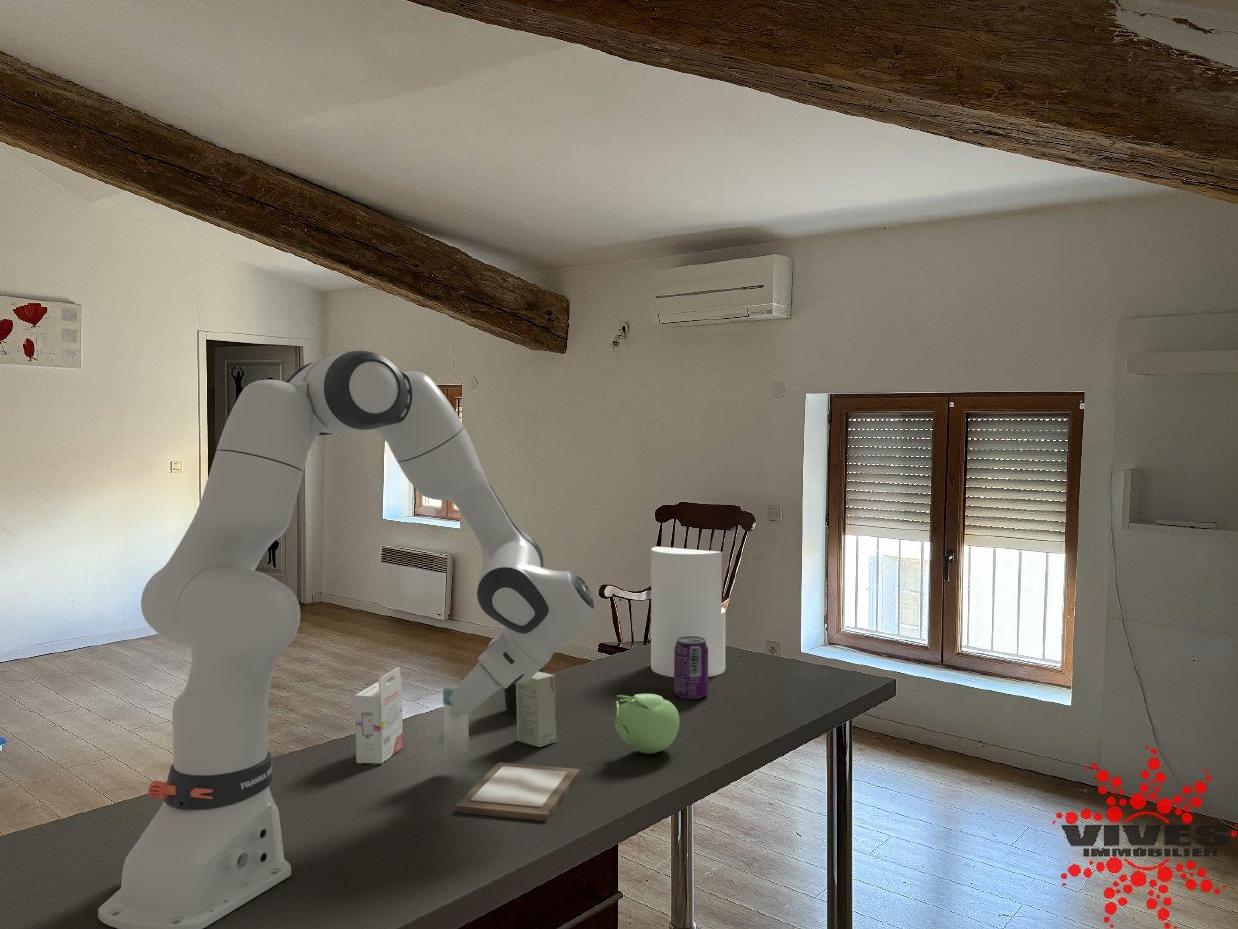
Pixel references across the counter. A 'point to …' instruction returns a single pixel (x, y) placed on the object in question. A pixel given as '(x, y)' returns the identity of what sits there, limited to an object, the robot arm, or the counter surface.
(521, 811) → the writing board
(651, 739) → the green eggplant
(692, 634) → the cylinder
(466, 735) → the white bottle teal cap
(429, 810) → the counter surface
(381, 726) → the ink cartridge box
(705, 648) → the beverage can
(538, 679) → the skincare box
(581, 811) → the counter surface
